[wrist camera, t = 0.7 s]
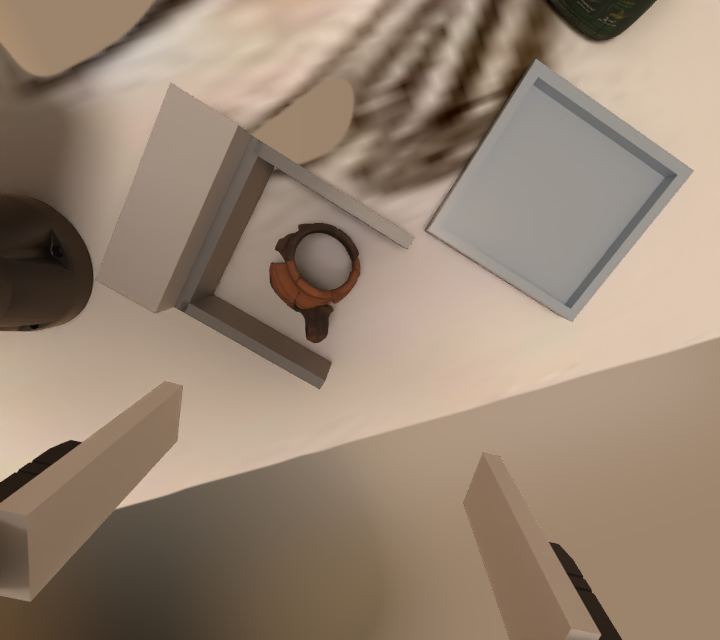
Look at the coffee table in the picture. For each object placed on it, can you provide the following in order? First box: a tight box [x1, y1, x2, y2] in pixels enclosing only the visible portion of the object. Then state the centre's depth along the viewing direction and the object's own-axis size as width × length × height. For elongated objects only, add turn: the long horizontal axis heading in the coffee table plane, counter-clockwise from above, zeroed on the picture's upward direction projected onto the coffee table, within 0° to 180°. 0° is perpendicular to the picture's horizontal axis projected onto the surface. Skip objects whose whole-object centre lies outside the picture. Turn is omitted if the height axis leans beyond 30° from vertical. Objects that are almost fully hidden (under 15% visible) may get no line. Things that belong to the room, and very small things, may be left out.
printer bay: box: [96, 83, 414, 389], centre depth 33 cm, size 23×18×8 cm
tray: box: [425, 59, 694, 322], centre depth 33 cm, size 18×17×2 cm
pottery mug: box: [269, 223, 360, 343], centre depth 35 cm, size 12×10×8 cm
